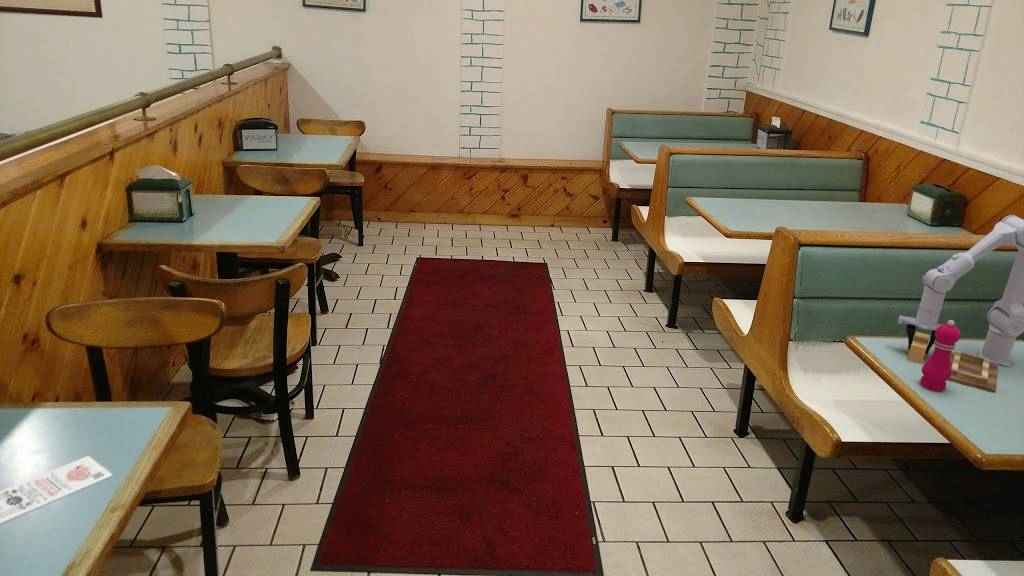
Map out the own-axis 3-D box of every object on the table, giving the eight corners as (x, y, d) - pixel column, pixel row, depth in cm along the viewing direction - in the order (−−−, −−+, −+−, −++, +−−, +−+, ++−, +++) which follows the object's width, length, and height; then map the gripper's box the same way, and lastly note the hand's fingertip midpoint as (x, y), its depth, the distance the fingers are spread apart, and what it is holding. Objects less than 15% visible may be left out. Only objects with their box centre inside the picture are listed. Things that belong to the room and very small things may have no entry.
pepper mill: (951, 388, 210) (972, 322, 203) (938, 394, 207) (958, 327, 199) (926, 377, 216) (945, 313, 209) (912, 383, 212) (931, 317, 205)
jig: (944, 353, 232) (946, 345, 231) (997, 366, 225) (999, 359, 225) (938, 377, 216) (940, 369, 215) (994, 392, 210) (997, 384, 209)
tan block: (911, 346, 236) (916, 331, 234) (926, 349, 234) (930, 335, 232) (907, 359, 226) (911, 344, 224) (921, 363, 224) (926, 348, 222)
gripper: (901, 306, 225) (890, 348, 230) (956, 319, 218) (943, 362, 223) (904, 299, 230) (893, 340, 235) (958, 312, 223) (945, 353, 228)
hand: (918, 350), depth 230 cm, fingers closed on tan block, 4 cm apart
